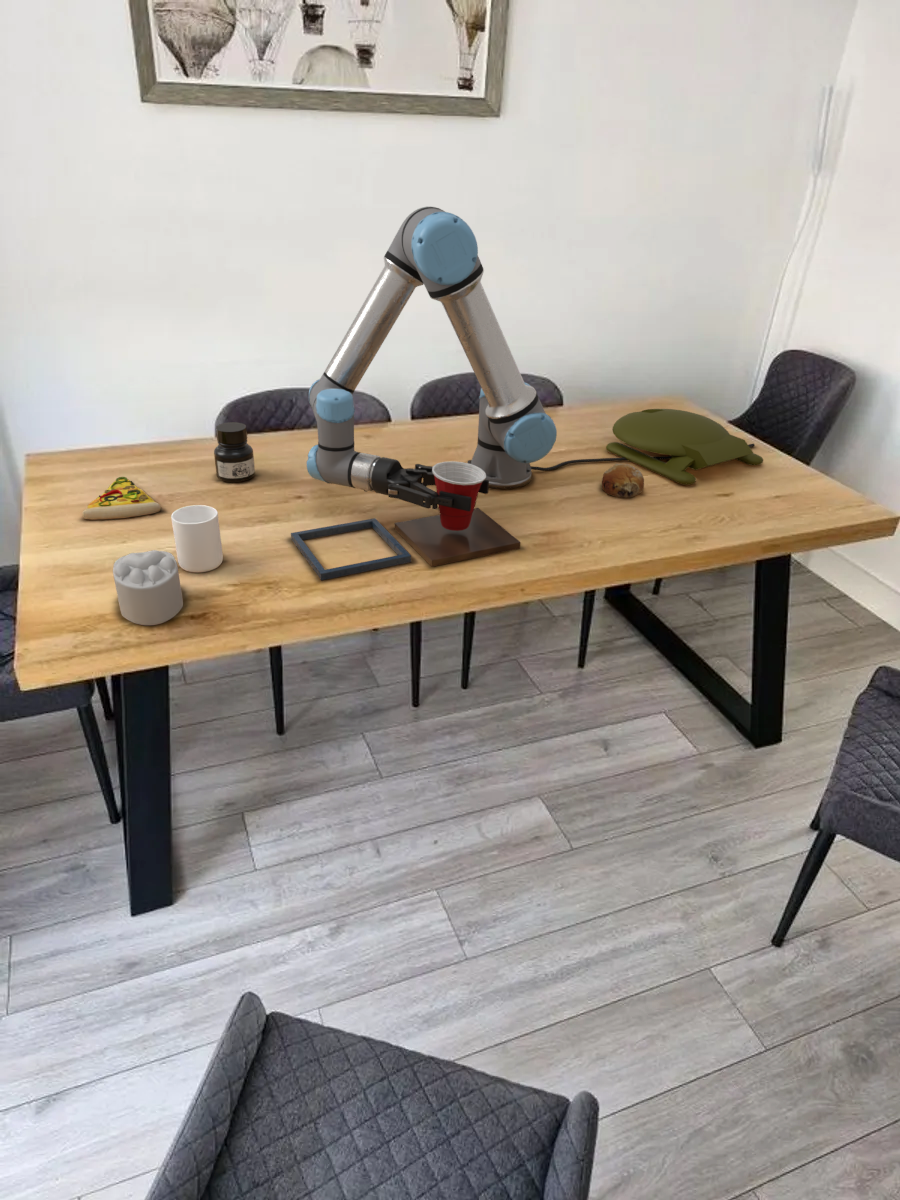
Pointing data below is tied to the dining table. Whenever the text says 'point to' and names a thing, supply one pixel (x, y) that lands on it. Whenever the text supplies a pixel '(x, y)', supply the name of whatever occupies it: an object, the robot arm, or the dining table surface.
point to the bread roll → (622, 481)
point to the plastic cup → (457, 490)
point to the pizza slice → (121, 502)
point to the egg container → (148, 587)
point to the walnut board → (456, 539)
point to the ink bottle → (233, 453)
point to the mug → (197, 538)
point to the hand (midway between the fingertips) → (479, 495)
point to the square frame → (353, 568)
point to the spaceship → (677, 442)
